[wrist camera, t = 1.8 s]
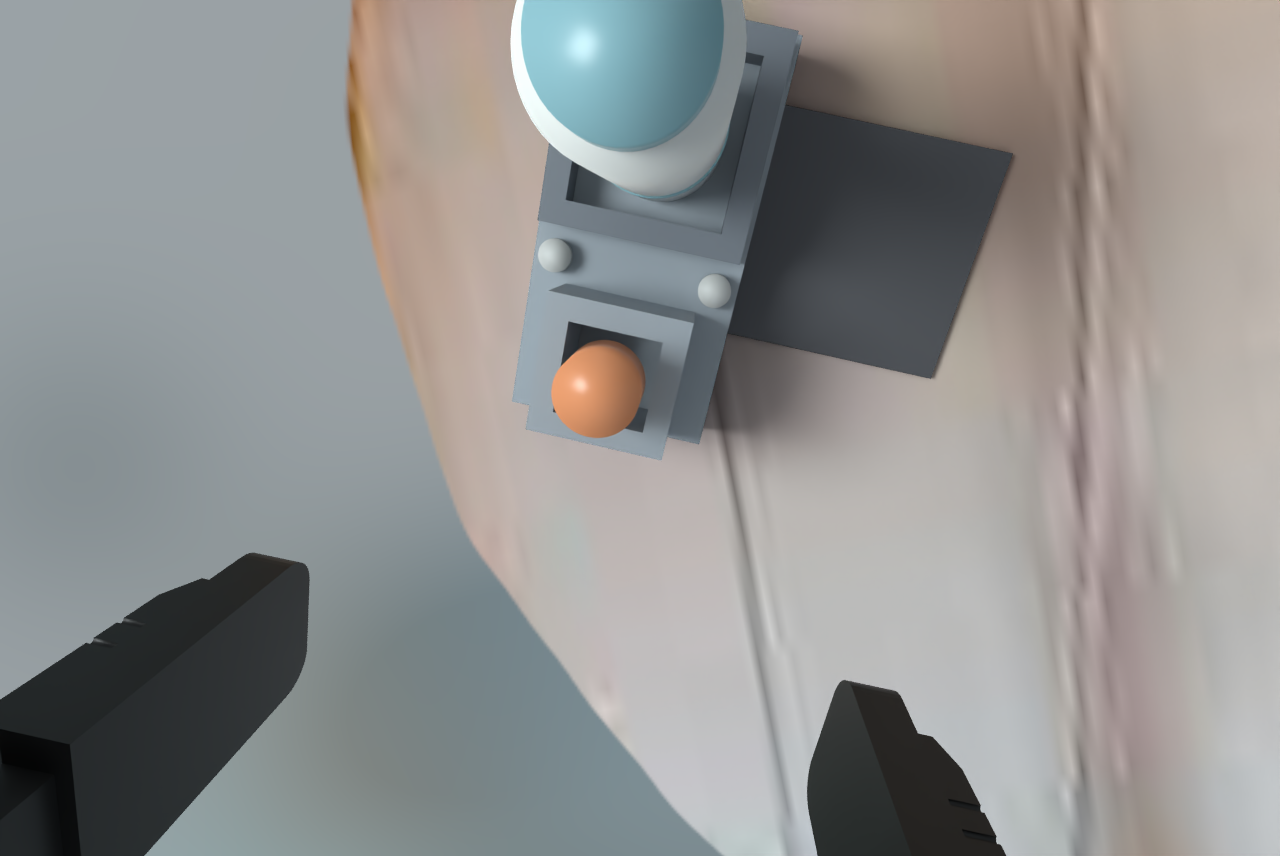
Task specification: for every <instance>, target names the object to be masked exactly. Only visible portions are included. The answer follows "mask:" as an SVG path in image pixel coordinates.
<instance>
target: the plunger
mask: <svg viewBox="0 0 1280 856" xmlns="http://www.w3.org/2000/svg"><path fill="white" fill-rule="evenodd" d="M645 381H646V378H645V372H644V368H643V366H642V363H641V361H640V360H639V358H638V357H637V355H636V354H635V353H634V352H633V351H632V350H631V349H629V348H628V347H627V346H625V345H623V344H621V343H619V342H616V341H611V340H597V341H592V342H590V343H587V344H585V345H584V346H582V347H581V348H579V349H578V350H577V351H576V352H575V353H574V354H573V355H572V356H571V357H570V358H569V359H568V360H567V361H566V362H565V363H564V364H563V365H562V366H561V367H560V368H559V369H558V371H557V373H556V375H555V377H554V380H553V383H552V390H551V397H552V403H553V406H554V409H555V411H556V413H557V415H558V417H559V418H560V419H561V421H562V422H563V423H564V424H565V425H566V426H567V427H568V428H570V429H571V430H572V431H574V432H576V433H578V434H580V435H583V436H586V437H591V438H604V437H609V436H612V435H615V434H617V433H619V432H620V431H622V430H623V429H625V428H626V427H627V426H628V425H629V424H630V422H631V421H632V420H633V418H634V417H635V415H636V412H637V410H638V407H639V404H640V402H641V399H642V396H643V393H644V390H645Z"/></svg>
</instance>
